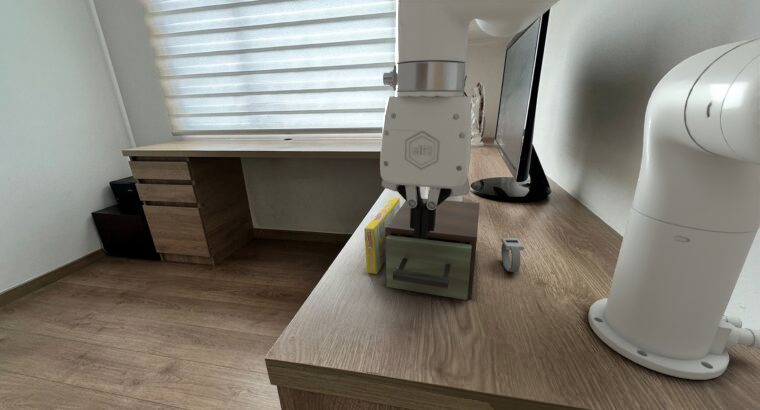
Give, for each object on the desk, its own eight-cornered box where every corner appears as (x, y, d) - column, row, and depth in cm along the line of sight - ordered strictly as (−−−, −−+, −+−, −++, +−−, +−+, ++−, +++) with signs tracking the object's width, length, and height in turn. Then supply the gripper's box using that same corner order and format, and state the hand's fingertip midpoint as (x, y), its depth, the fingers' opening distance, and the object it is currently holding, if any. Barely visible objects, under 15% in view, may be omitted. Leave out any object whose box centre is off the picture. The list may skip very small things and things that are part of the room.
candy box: (391, 234, 67) (391, 197, 64) (401, 235, 66) (401, 197, 64) (365, 273, 53) (363, 227, 50) (377, 274, 52) (376, 228, 49)
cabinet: (471, 299, 45) (477, 237, 42) (385, 285, 49) (385, 227, 46) (475, 252, 58) (479, 202, 55) (407, 244, 62) (408, 197, 59)
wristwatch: (523, 279, 50) (527, 251, 48) (505, 278, 50) (509, 250, 48) (512, 260, 56) (515, 234, 54) (495, 259, 56) (498, 233, 54)
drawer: (464, 323, 39) (469, 267, 37) (376, 306, 43) (374, 254, 40) (471, 255, 56) (474, 213, 53) (407, 247, 59) (407, 207, 57)
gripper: (353, 82, 34) (357, 239, 40) (502, 80, 29) (481, 256, 35) (375, 84, 40) (376, 218, 46) (499, 83, 36) (482, 230, 42)
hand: (422, 234), depth 41 cm, fingers closed
